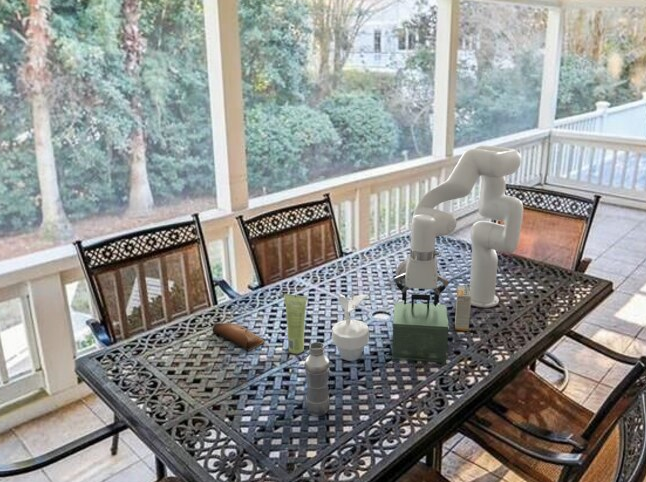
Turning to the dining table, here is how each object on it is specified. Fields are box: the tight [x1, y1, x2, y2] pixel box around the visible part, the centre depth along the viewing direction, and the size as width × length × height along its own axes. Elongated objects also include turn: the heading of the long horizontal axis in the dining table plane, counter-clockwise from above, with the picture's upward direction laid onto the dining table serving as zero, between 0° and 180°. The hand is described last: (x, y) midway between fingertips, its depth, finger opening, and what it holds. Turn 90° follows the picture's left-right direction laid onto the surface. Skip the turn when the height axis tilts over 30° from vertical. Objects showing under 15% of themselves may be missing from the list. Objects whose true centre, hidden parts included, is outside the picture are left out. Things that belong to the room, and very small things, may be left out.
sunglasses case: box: [212, 322, 265, 352], centre depth 179 cm, size 18×7×7 cm
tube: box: [283, 293, 308, 355], centre depth 169 cm, size 6×5×20 cm
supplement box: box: [454, 285, 472, 332], centre depth 185 cm, size 8×5×13 cm, turn 168°
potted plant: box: [331, 290, 370, 362], centre depth 165 cm, size 13×12×25 cm
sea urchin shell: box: [395, 259, 407, 283], centre depth 223 cm, size 13×14×8 cm
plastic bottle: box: [304, 341, 331, 417], centre depth 140 cm, size 6×7×20 cm
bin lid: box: [392, 293, 449, 330], centre depth 168 cm, size 14×17×5 cm
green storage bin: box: [391, 325, 449, 364], centre depth 170 cm, size 14×17×12 cm
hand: (420, 303), depth 173 cm, fingers open, 9 cm apart
